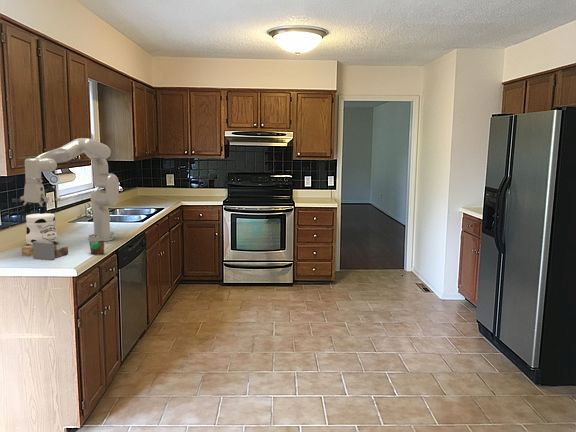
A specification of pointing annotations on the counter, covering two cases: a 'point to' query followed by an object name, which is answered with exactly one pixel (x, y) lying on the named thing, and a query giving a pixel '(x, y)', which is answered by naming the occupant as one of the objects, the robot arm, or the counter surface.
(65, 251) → the cradle
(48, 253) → the wall
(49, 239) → the milk container
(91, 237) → the food container
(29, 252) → the oak bar
